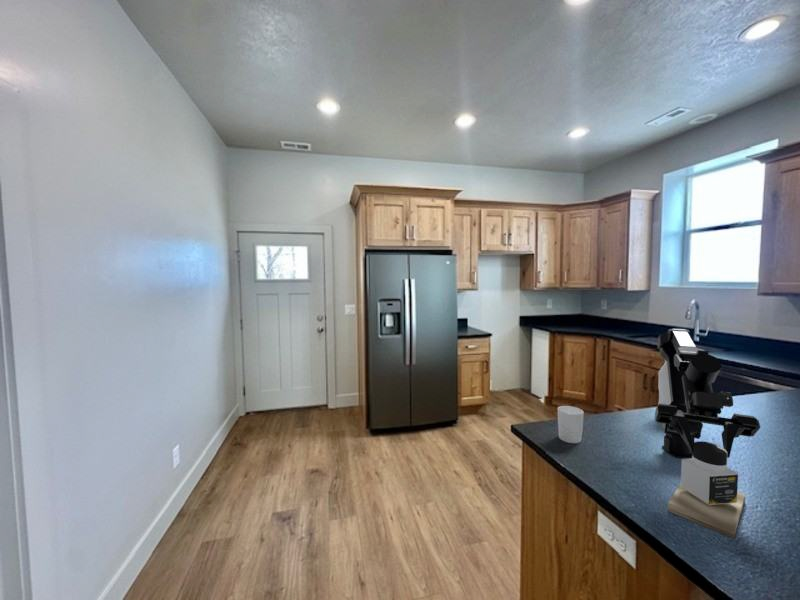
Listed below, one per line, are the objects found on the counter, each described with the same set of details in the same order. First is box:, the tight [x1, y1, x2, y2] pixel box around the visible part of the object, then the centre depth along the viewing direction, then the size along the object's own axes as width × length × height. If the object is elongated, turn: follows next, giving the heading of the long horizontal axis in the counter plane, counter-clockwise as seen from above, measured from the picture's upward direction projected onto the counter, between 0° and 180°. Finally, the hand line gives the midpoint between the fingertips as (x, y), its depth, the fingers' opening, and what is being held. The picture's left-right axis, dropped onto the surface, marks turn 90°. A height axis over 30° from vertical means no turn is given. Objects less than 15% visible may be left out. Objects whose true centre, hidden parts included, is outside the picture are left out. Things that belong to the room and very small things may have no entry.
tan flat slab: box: [667, 482, 746, 539], centre depth 80 cm, size 18×11×2 cm, turn 130°
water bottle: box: [657, 358, 671, 405], centre depth 132 cm, size 7×7×25 cm
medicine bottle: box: [680, 440, 739, 505], centre depth 79 cm, size 7×7×12 cm
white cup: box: [557, 405, 585, 444], centre depth 114 cm, size 8×8×10 cm
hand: (709, 454), depth 79 cm, fingers closed on medicine bottle, 6 cm apart
